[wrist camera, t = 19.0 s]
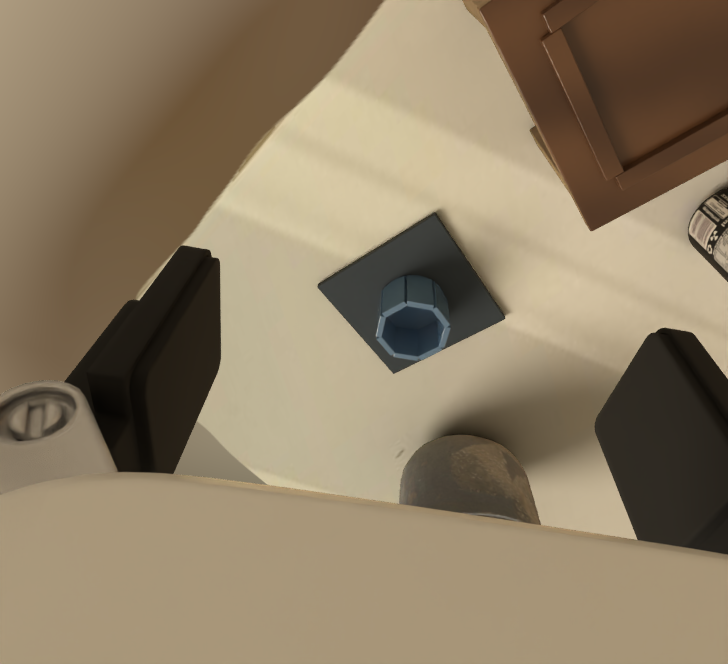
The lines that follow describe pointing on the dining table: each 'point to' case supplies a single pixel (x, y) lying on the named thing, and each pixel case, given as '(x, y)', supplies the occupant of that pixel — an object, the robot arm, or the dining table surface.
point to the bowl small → (412, 318)
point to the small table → (618, 91)
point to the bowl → (468, 480)
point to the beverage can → (712, 231)
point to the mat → (413, 257)
